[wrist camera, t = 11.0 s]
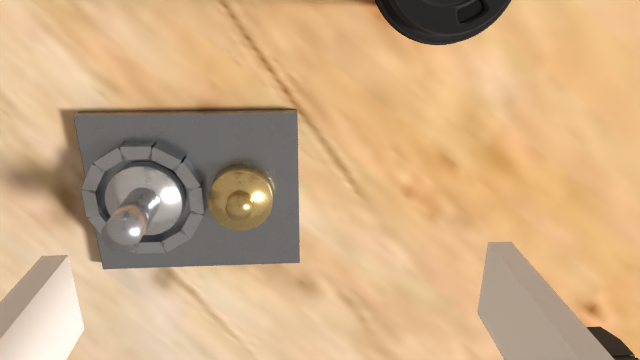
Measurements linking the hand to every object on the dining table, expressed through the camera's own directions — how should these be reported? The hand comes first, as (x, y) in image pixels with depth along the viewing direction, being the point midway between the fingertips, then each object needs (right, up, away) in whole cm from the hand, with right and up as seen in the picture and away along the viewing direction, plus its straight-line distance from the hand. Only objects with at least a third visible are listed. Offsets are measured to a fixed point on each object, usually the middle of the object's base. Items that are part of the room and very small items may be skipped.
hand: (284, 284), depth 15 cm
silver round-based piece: (-15, +2, +31) cm, 35 cm away
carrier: (-11, +2, +33) cm, 34 cm away
